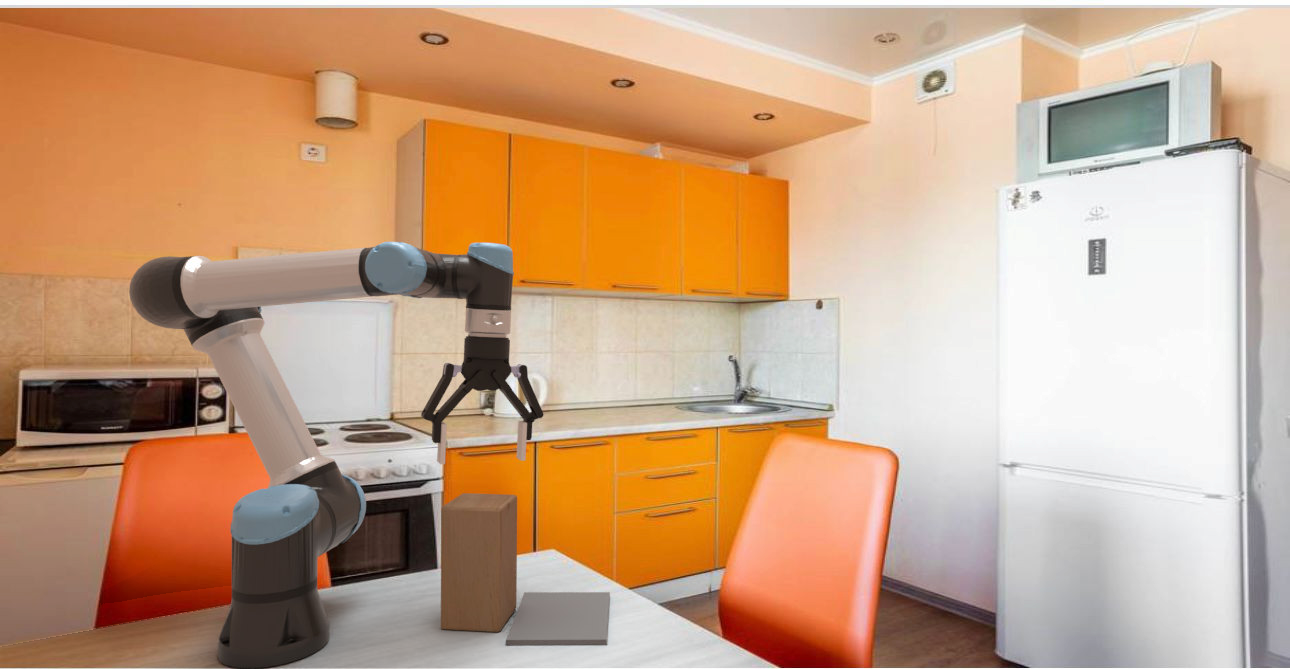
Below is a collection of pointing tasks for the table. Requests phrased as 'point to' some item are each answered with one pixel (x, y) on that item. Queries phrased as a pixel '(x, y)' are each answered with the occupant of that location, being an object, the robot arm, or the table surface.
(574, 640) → the mat
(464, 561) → the wooden block
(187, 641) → the table surface
